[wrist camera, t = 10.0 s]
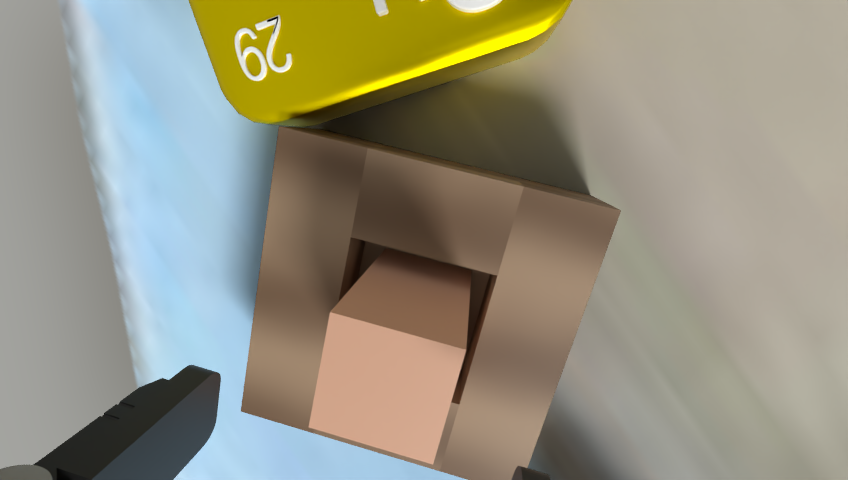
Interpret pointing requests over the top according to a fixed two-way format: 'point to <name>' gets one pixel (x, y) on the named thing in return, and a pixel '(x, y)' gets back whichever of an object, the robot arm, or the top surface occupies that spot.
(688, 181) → the top surface
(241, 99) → the element tile
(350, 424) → the terracotta peg
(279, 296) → the walnut base
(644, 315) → the top surface
